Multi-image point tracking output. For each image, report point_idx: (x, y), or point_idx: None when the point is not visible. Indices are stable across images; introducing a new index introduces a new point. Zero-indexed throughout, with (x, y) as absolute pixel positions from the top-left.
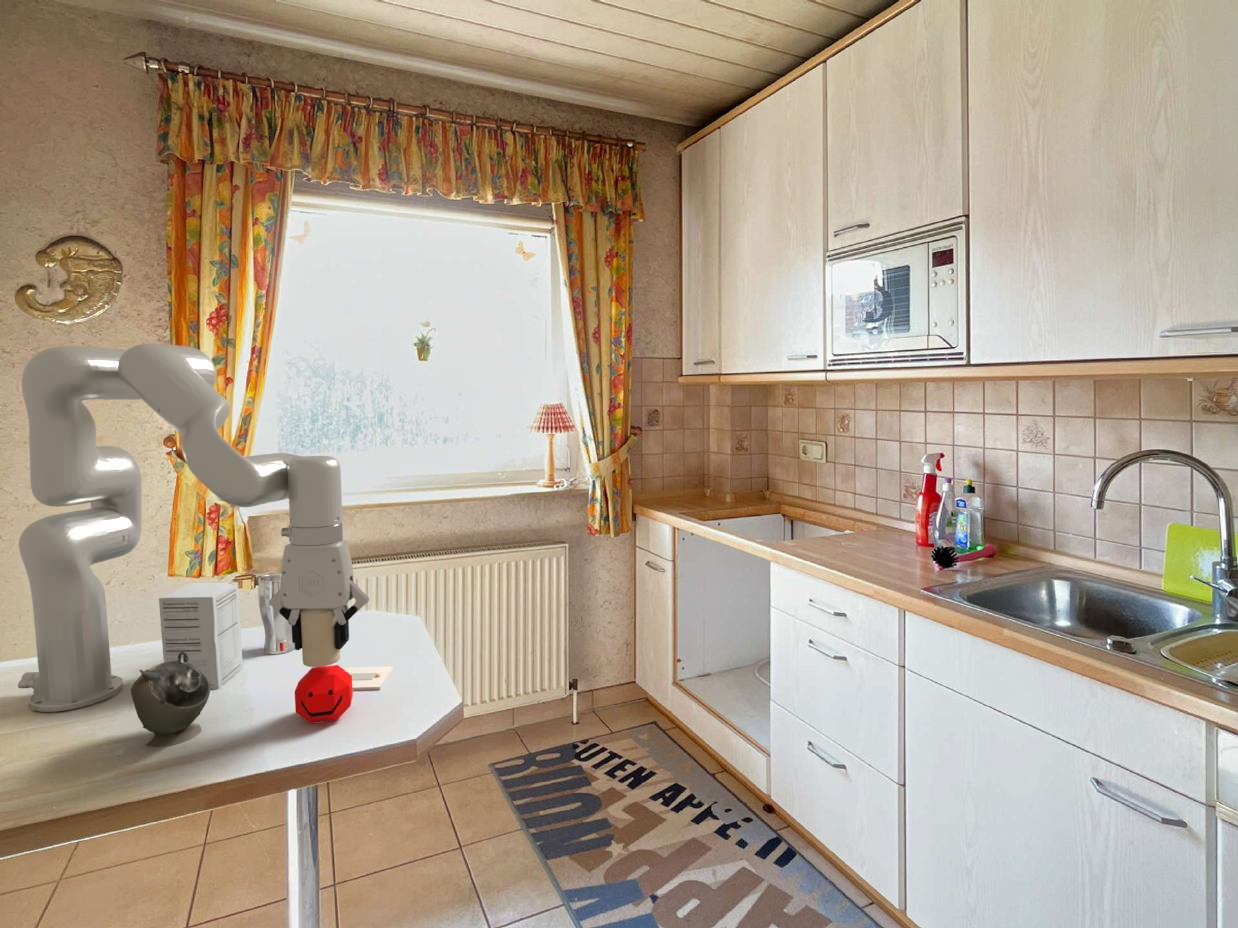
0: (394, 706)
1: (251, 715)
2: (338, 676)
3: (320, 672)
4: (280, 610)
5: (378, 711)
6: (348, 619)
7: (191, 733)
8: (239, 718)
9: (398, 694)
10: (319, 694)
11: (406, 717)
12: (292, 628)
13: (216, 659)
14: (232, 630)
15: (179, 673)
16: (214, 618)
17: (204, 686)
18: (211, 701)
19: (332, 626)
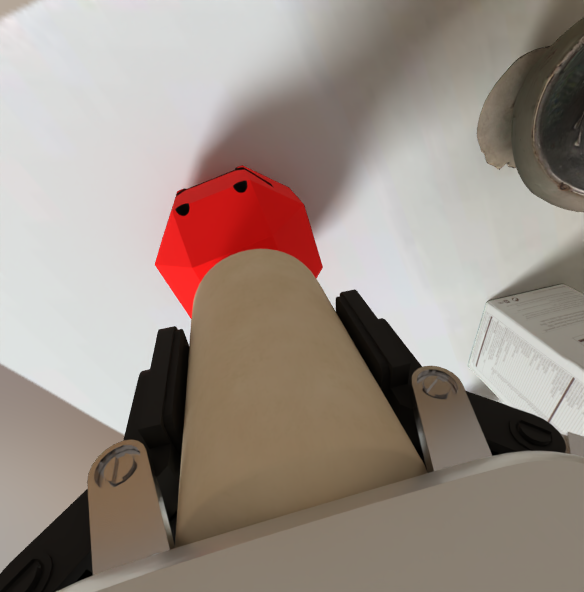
0: (95, 293)
1: (398, 214)
2: (184, 269)
3: None
4: (555, 435)
5: (118, 266)
6: (85, 491)
7: (494, 111)
8: (417, 199)
9: (128, 341)
10: (213, 192)
11: (14, 247)
12: (413, 361)
13: (533, 335)
14: (541, 410)
15: None
16: None
17: (561, 151)
18: (486, 258)
19: (187, 415)
